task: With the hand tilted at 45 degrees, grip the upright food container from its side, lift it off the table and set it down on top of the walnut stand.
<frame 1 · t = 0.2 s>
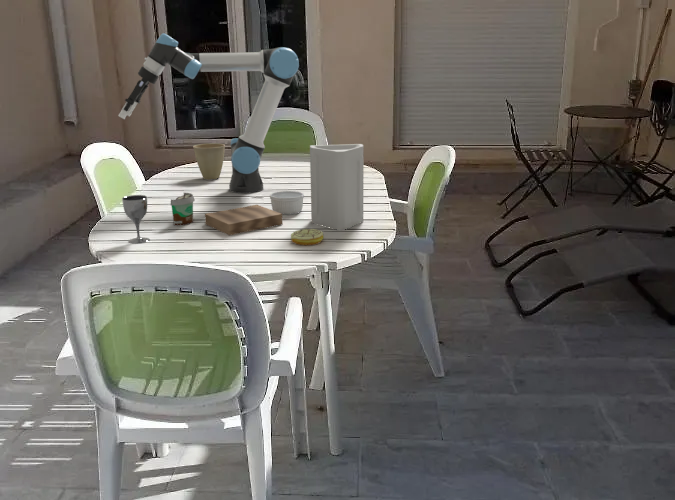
hand: (123, 116, 272), 35 cm above the table, tool tilted 35°, fingers open, 13 cm apart
walnut stand: (244, 224, 248), on the table
food container: (187, 222, 251), on the table
plant pot: (211, 178, 327), on the table
ramekin: (287, 211, 266), on the table
wine glass: (139, 241, 230), on the table
decorated donut: (307, 242, 227), on the table
white triangular vase: (338, 225, 247), on the table
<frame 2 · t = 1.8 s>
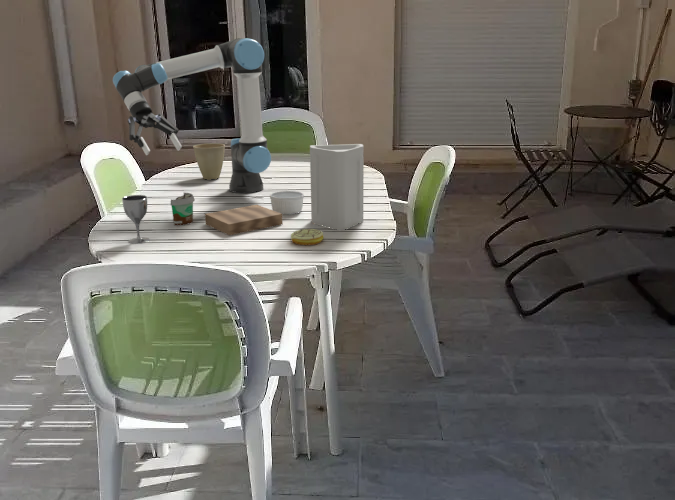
hand: (164, 150, 250), 26 cm above the table, tool tilted 45°, fingers open, 13 cm apart
nothing on the table moved.
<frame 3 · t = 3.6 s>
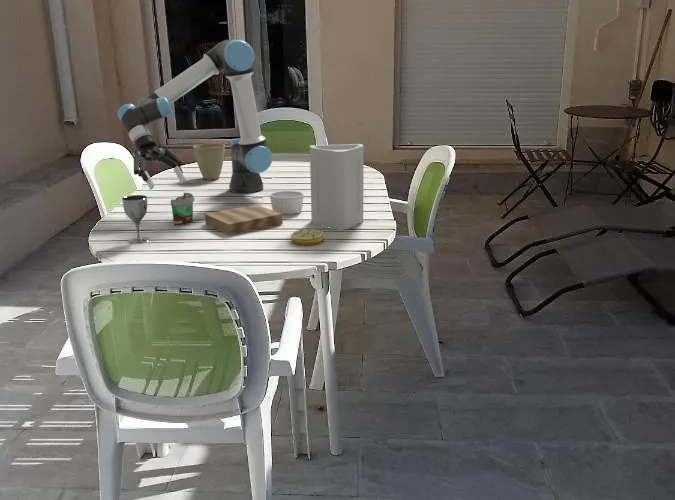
hand: (168, 184, 253), 13 cm above the table, tool tilted 45°, fingers open, 13 cm apart
nothing on the table moved.
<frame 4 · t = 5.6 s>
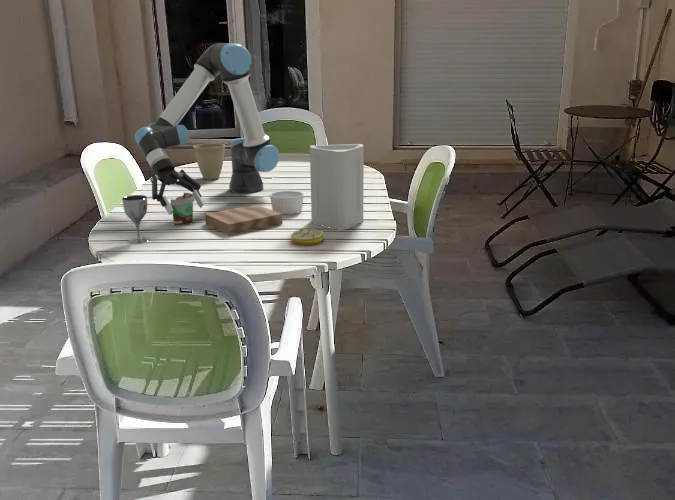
hand: (187, 209, 248), 5 cm above the table, tool tilted 45°, fingers open, 13 cm apart
food container: (187, 222, 251), on the table, touching gripper
everything else where it was.
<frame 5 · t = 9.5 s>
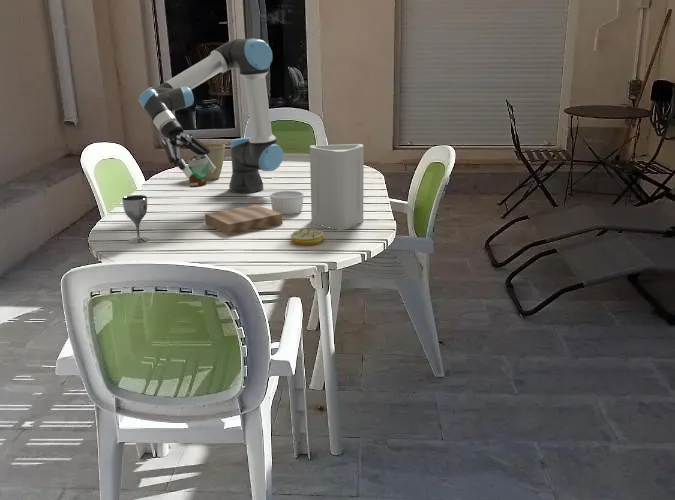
hand: (202, 173, 242), 19 cm above the table, tool tilted 45°, fingers closed on food container, 11 cm apart
food container: (200, 185, 246), point 14 cm above the table, touching gripper
everything else where it was.
when the fingers open (10 cm above the table, at t = 12.8 s): food container stays where it is, resting on walnut stand.
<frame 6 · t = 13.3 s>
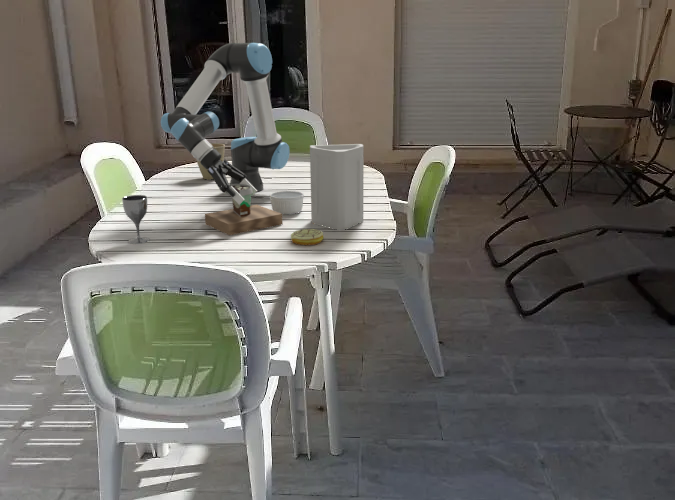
hand: (248, 197, 244), 10 cm above the table, tool tilted 45°, fingers open, 13 cm apart
food container: (244, 213, 248), point 4 cm above the table, touching walnut stand
everything else where it was.
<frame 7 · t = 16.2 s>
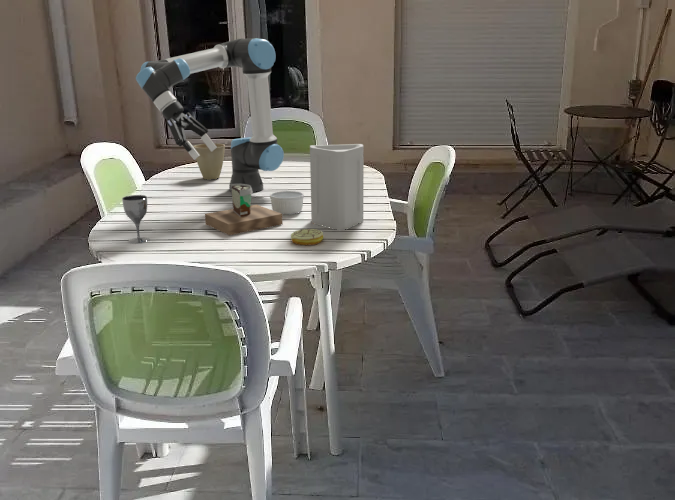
hand: (205, 153, 248), 25 cm above the table, tool tilted 40°, fingers open, 13 cm apart
nothing on the table moved.
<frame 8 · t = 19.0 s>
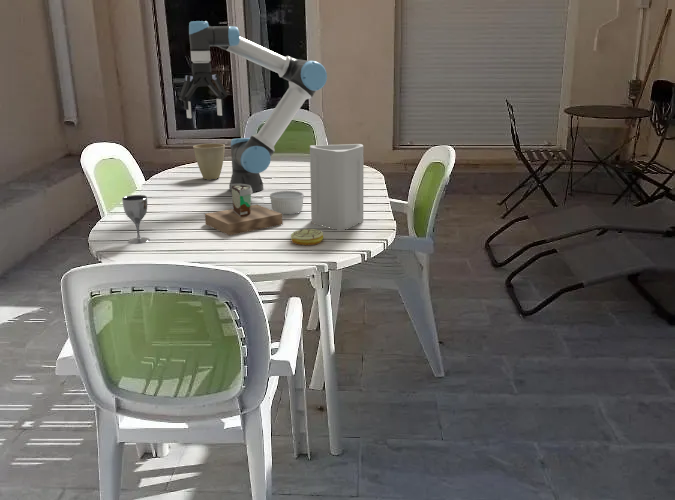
hand: (204, 116, 273), 35 cm above the table, tool pointing down, fingers open, 13 cm apart
nothing on the table moved.
at the end: food container inside the target area on the walnut stand (1.4 cm from its centre), point 3.8 cm above the walnut stand's base; food container tilted 0°; the gripper is holding nothing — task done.
